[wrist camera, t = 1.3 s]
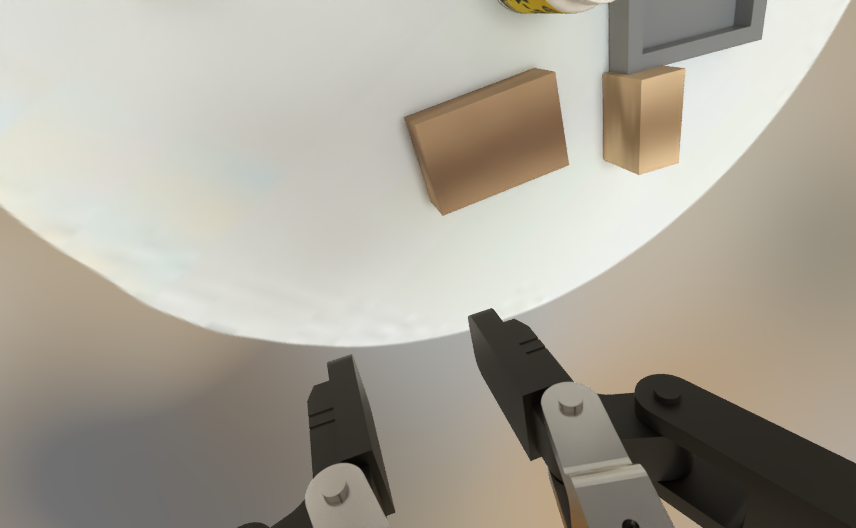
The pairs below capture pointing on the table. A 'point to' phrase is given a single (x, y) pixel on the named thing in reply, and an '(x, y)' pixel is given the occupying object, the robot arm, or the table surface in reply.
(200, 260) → the table surface
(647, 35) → the tray
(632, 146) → the tan rectangular block
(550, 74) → the flat cardboard carton
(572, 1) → the supplement bottle
